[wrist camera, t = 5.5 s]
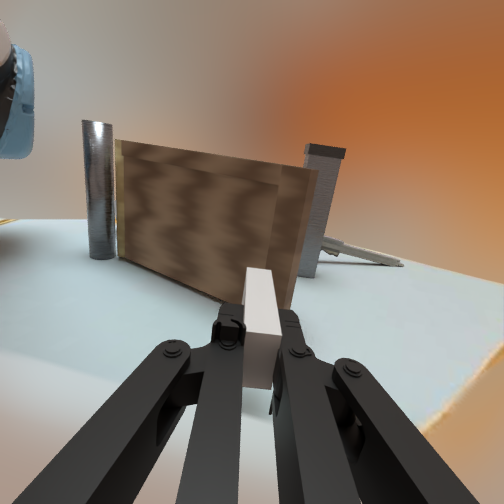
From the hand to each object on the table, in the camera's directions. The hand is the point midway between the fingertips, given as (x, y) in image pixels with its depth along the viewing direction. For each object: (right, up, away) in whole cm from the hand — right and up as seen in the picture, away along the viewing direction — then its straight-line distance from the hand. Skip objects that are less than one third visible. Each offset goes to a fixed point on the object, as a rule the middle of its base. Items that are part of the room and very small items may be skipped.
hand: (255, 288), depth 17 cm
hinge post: (-20, +2, +19) cm, 27 cm away
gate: (-7, -1, +14) cm, 16 cm away
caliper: (+17, 0, +30) cm, 35 cm away
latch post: (+6, -1, +23) cm, 23 cm away
